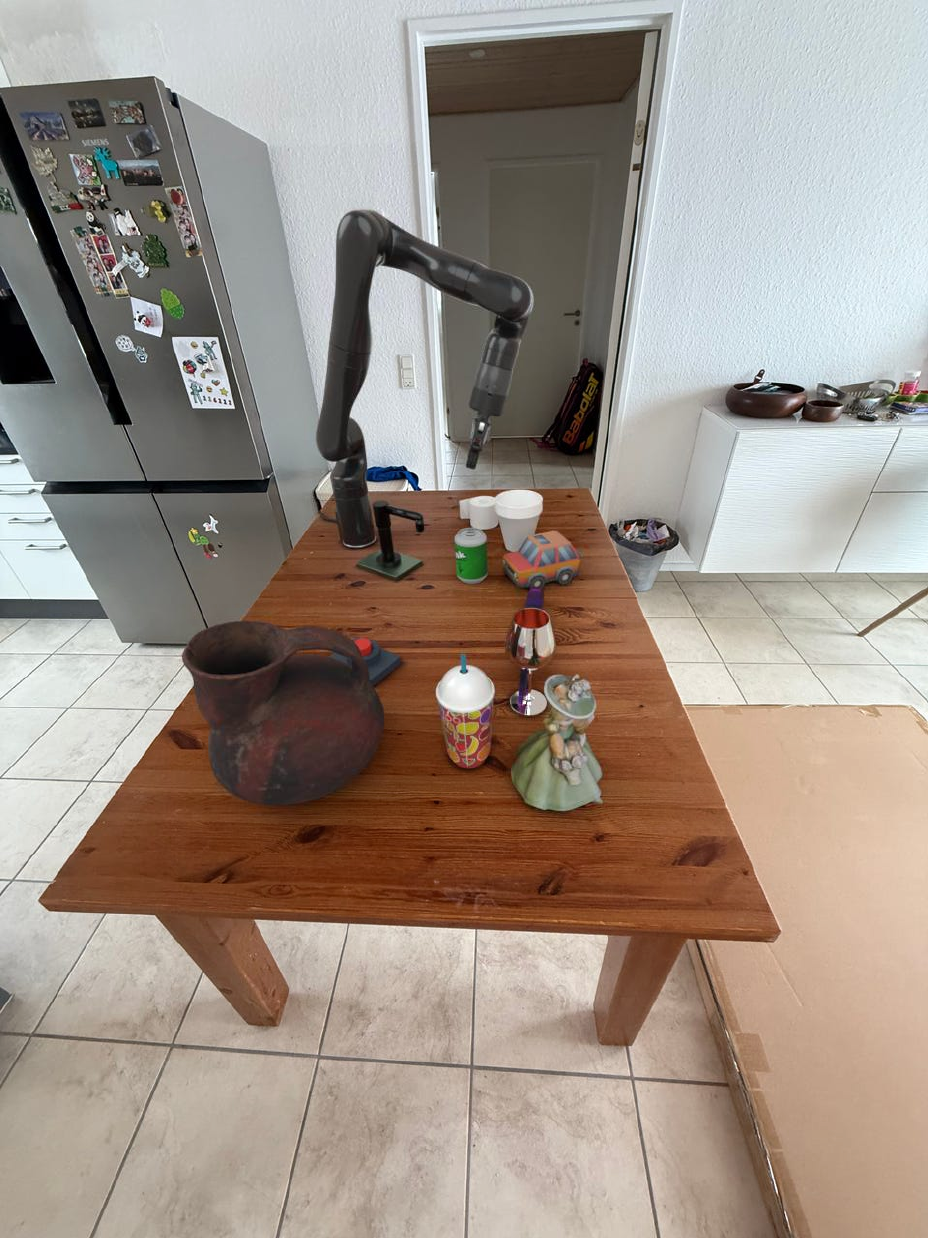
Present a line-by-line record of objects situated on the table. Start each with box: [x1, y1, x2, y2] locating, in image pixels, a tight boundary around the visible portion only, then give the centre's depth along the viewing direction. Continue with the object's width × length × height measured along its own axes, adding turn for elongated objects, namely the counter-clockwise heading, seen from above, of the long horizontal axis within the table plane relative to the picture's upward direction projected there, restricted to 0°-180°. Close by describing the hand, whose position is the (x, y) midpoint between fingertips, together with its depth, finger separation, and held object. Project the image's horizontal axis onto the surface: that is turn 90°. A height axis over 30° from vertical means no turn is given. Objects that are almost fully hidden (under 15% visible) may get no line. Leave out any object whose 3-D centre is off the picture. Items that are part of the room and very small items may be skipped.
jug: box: [181, 620, 385, 807], centre depth 73 cm, size 25×25×25 cm
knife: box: [518, 587, 545, 709], centre depth 98 cm, size 37×4×5 cm, turn 169°
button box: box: [328, 636, 402, 688], centre depth 99 cm, size 12×8×4 cm, turn 54°
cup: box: [494, 489, 544, 553], centre depth 133 cm, size 12×12×14 cm
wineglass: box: [504, 607, 557, 717], centre depth 84 cm, size 8×8×18 cm
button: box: [354, 638, 372, 657], centre depth 97 cm, size 4×4×2 cm
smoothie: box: [435, 653, 496, 769], centre depth 74 cm, size 8×8×20 cm
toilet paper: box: [459, 495, 499, 531], centre depth 148 cm, size 8×11×7 cm
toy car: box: [502, 530, 584, 590], centre depth 121 cm, size 12×17×10 cm
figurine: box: [510, 673, 604, 812], centre depth 69 cm, size 14×14×20 cm
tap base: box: [355, 526, 423, 582], centre depth 129 cm, size 14×10×11 cm
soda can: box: [454, 527, 489, 585], centre depth 121 cm, size 8×8×12 cm
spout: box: [372, 500, 425, 534], centre depth 121 cm, size 15×4×6 cm, turn 54°
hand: (470, 463), depth 116 cm, fingers open, 8 cm apart
